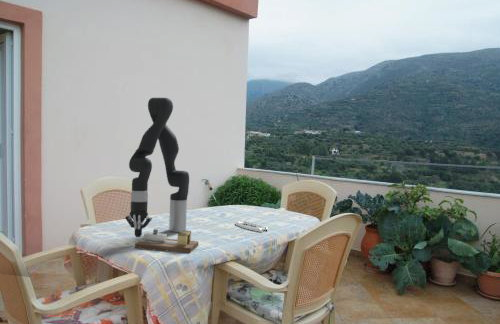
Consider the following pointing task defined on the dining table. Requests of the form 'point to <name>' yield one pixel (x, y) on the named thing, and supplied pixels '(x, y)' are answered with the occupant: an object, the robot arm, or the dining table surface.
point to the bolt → (155, 236)
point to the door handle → (251, 227)
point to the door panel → (166, 245)
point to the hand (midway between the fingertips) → (138, 236)
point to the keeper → (184, 238)
